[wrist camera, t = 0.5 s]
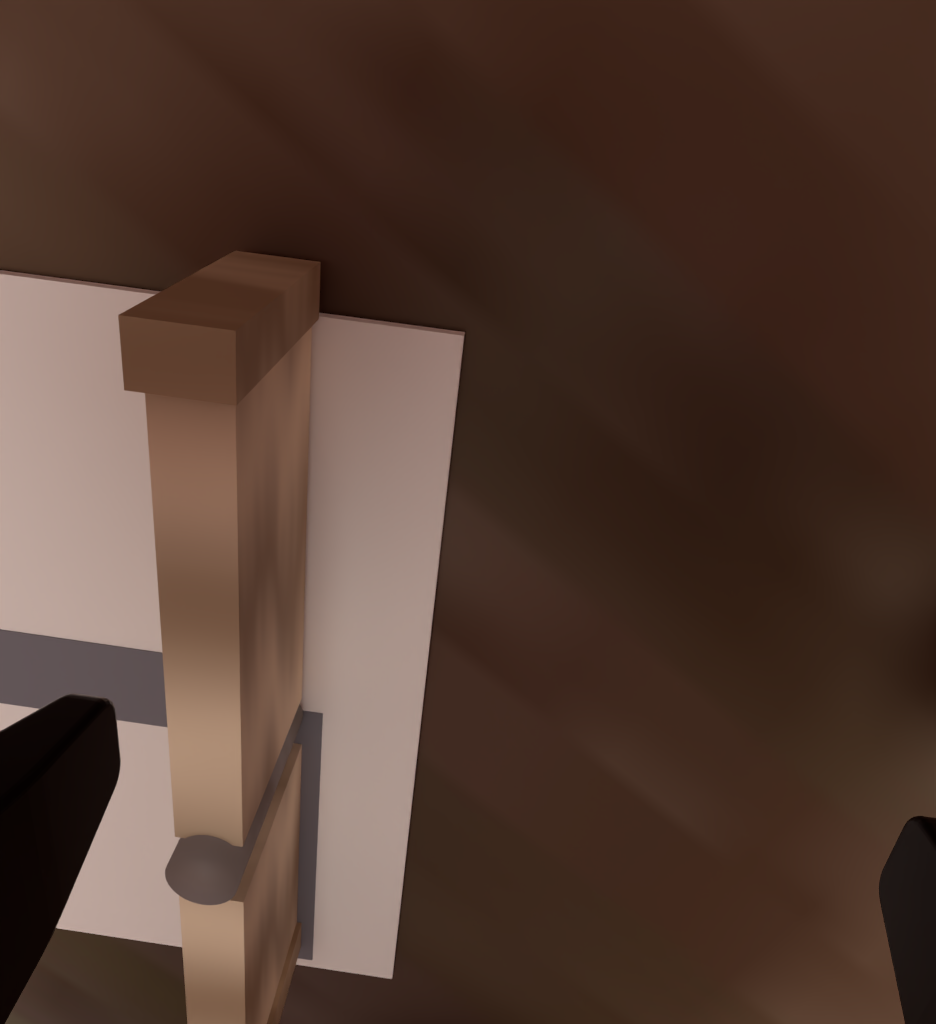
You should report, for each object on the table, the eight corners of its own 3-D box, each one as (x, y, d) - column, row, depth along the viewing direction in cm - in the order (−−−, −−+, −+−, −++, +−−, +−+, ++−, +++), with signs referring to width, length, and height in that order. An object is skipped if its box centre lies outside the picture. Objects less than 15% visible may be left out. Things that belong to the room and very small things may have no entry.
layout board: (393, 970, 29) (391, 980, 28) (-99, 896, 29) (-105, 904, 29) (465, 332, 18) (463, 336, 18) (-292, 230, 19) (-306, 233, 19)
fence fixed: (303, 937, 28) (241, 1153, 23) (250, 929, 28) (175, 1143, 23) (310, 736, 24) (236, 938, 18) (247, 727, 24) (156, 927, 19)
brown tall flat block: (306, 738, 24) (242, 910, 19) (241, 729, 24) (162, 899, 19) (320, 261, 18) (233, 332, 13) (235, 250, 18) (115, 316, 13)
